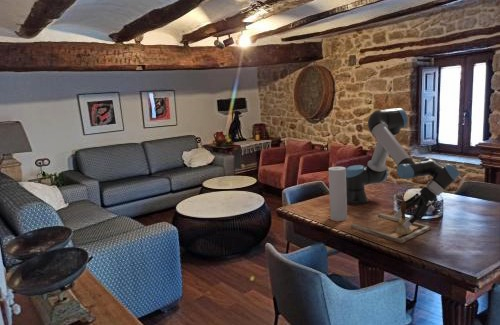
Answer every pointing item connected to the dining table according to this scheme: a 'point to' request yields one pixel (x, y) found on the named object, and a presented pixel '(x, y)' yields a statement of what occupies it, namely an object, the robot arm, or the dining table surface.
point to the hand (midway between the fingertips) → (399, 221)
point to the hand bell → (401, 228)
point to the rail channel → (400, 240)
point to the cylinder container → (337, 193)
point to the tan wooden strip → (403, 234)
